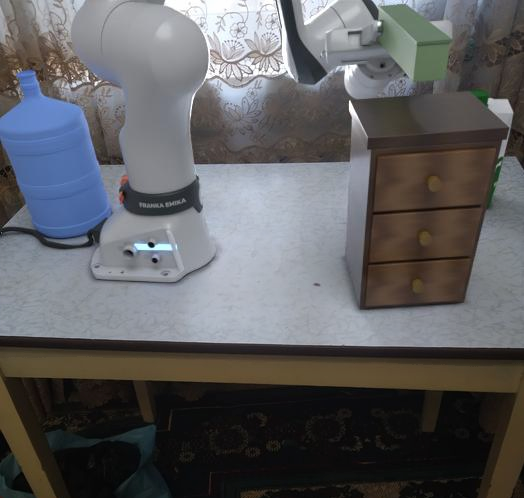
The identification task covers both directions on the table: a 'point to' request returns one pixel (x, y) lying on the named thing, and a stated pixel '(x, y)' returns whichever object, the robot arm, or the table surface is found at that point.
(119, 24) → the robot arm
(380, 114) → the drawer unit
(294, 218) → the table surface
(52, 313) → the table surface
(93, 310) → the table surface
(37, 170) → the water jug
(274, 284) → the table surface
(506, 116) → the milk carton
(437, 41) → the storage box
